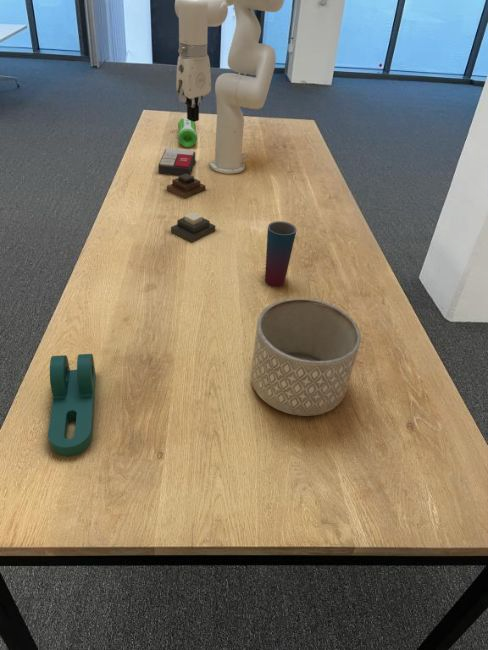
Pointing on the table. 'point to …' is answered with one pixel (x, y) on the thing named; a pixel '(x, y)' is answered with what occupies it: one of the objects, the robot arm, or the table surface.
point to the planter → (303, 355)
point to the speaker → (187, 132)
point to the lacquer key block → (192, 229)
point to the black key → (186, 178)
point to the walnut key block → (185, 188)
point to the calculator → (176, 162)
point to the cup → (278, 251)
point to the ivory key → (193, 218)
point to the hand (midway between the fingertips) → (192, 119)
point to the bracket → (72, 403)
